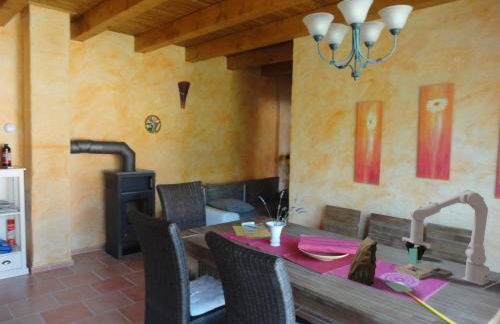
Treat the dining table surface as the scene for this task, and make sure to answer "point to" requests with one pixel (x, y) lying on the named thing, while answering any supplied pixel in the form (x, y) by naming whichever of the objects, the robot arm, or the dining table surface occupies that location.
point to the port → (409, 267)
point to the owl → (364, 263)
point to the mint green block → (414, 256)
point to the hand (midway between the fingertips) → (415, 258)
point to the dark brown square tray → (441, 272)
